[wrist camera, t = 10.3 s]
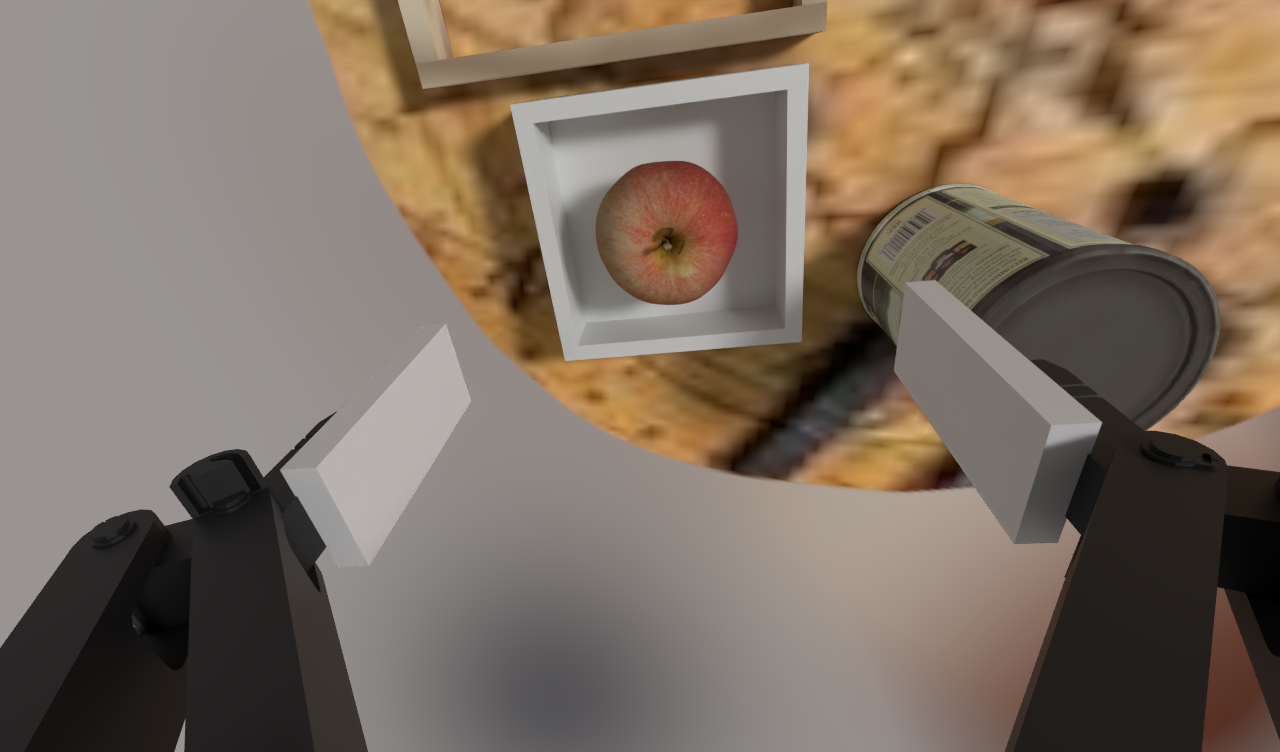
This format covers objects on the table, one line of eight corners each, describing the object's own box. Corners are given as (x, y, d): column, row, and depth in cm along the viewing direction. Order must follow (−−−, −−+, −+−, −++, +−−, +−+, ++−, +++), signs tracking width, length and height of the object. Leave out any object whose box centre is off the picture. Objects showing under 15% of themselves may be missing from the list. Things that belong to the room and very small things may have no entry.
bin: (530, 100, 32) (510, 104, 28) (791, 64, 30) (809, 63, 26) (576, 331, 39) (565, 361, 35) (788, 313, 37) (801, 342, 33)
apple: (632, 126, 31) (618, 141, 24) (754, 182, 32) (775, 213, 25) (585, 250, 35) (562, 294, 28) (696, 297, 36) (700, 351, 29)
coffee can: (976, 348, 38) (1120, 482, 25) (833, 321, 37) (909, 444, 25) (1059, 199, 32) (1289, 276, 20) (894, 166, 32) (1026, 225, 20)
